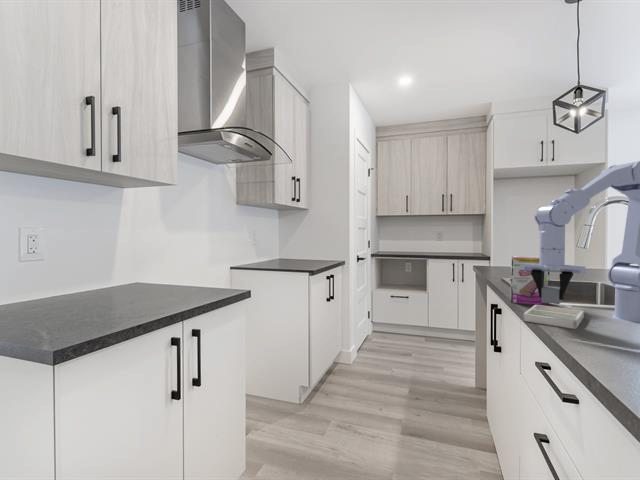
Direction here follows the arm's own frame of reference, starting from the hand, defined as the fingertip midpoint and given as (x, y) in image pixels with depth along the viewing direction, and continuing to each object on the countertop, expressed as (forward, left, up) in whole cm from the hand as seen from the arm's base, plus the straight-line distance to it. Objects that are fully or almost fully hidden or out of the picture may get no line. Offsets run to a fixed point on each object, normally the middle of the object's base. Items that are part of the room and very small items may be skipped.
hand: (551, 298), depth 94 cm
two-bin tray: (-4, 0, -7) cm, 8 cm away
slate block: (0, 0, -1) cm, 1 cm away
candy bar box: (-22, -10, -7) cm, 25 cm away
